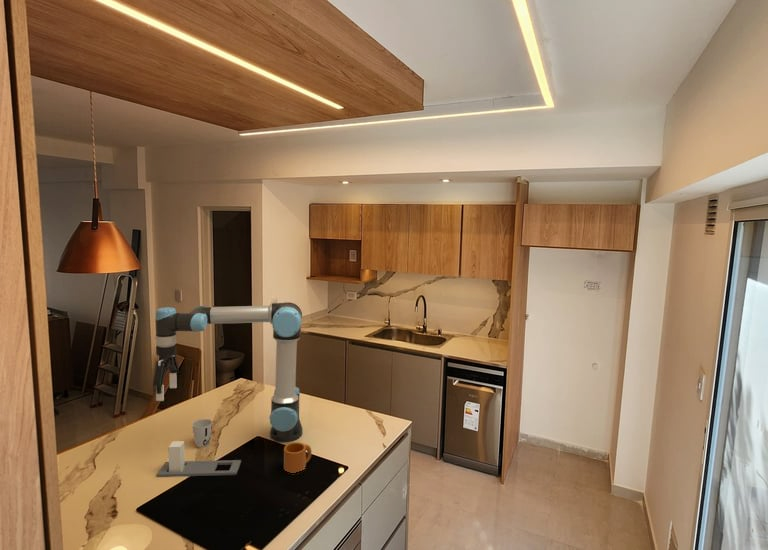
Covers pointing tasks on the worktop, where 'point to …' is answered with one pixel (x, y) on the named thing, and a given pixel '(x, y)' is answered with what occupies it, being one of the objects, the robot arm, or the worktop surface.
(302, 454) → the mug
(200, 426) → the cup
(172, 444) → the plug
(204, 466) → the socket strip
